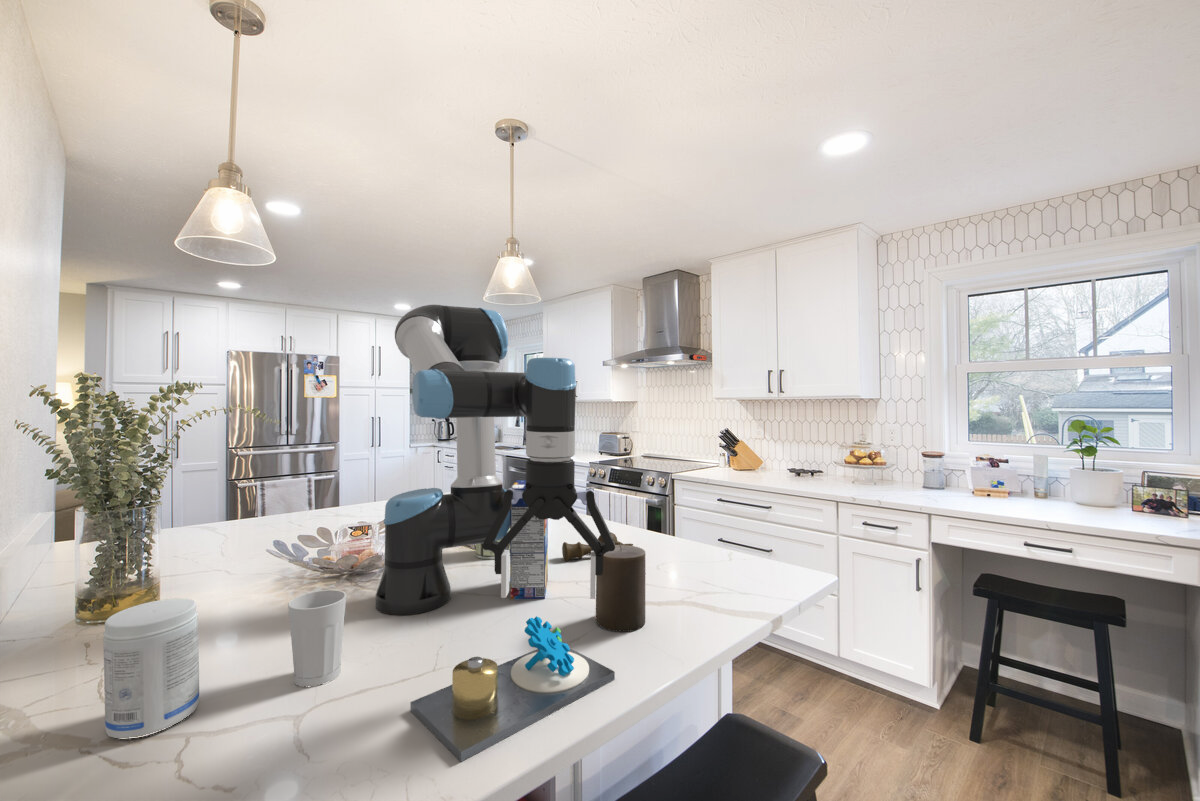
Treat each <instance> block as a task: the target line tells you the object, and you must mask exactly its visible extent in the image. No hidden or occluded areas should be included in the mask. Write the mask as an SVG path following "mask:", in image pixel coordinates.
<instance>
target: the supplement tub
mask: <svg viewBox="0 0 1200 801" xmlns="http://www.w3.org/2000/svg"><path fill="white" fill-rule="evenodd" d="M199 651H200V650H199V615H198V610H197V603H196V601H195V600H193V599H189V598H185V597H184V598H183V597H181V598H180V597H178V598H176V597H175V598H166V599H160V600H154V601H149V602H145V603H140V604H138V605H134V606H131V607H128V608H125V609H123V610H120V611H118V612H116V613H114V614H112V615H110V616H109V617H108V618H107V619H106V620H105V621H104V631H103V678H104V680H103V681H104V683H103V685H104V687H103V688H104V689H103V690H104V724H105V733H106V735H107V736H108V737H110V736H111V737H114V738H129V737H138V736H143V735H146V734H150V733H153V732H156V731H159V730H162V729H164V728H167V727H169V726H171V725H173V724H175V723H177V722H179V721H181V720H182V719H184V718H186V717H187V716H188V717H189V715H190V714H191V713H192V714H193V713H194V711H195V710H196V709H197V708H198V705H199V703H200V659H199V658H200V656H199V655H200V654H199V653H200V652H199ZM192 714H191V715H192ZM191 715H190V716H191ZM188 717H187V718H188ZM187 718H186V719H187ZM184 720H185V719H184ZM181 722H182V721H181ZM111 737H110V738H111ZM114 738H113V739H114Z"/></svg>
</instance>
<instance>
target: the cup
mask: <svg viewBox="0 0 1200 801" xmlns="http://www.w3.org/2000/svg"><path fill="white" fill-rule="evenodd" d="M347 597H348V596H347V593H346V592H345V591H344V590H339V589H322V590H314V591H310V592H306V593H303V594H300V595H298V596H296V597H294V598H292V599H290V600H289V602H288V603H287V607H288V608H287V610H288V616H289V617H288V618H289V628H290V638H291V639H290V640H291V650H292V651H291V652H292V663H293V675H294V676H293V677H294V678H293V682H295V683H294V685H295V684H296V685H295V686H297V685H299V686H307V687H306V688H309V687H308V686H315V687H317V686H316V685H320V684H323V683H326V682H328V681H330V682H332V681H333V679H334V678H335V679H337V678H338V677H339V676H340V674H341V670H342V669H341V666H342V664H341V662H342V652H343V650H342V649H343V636H344V628H345V627H344V625H345V614H346V605H347ZM338 675H339V676H338ZM337 676H338V677H337ZM336 677H337V678H336ZM335 679H334V680H335ZM331 680H332V681H331ZM328 683H329V682H328ZM326 684H327V683H326ZM323 685H324V684H323ZM299 686H298V687H299ZM320 686H321V685H320Z"/></svg>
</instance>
